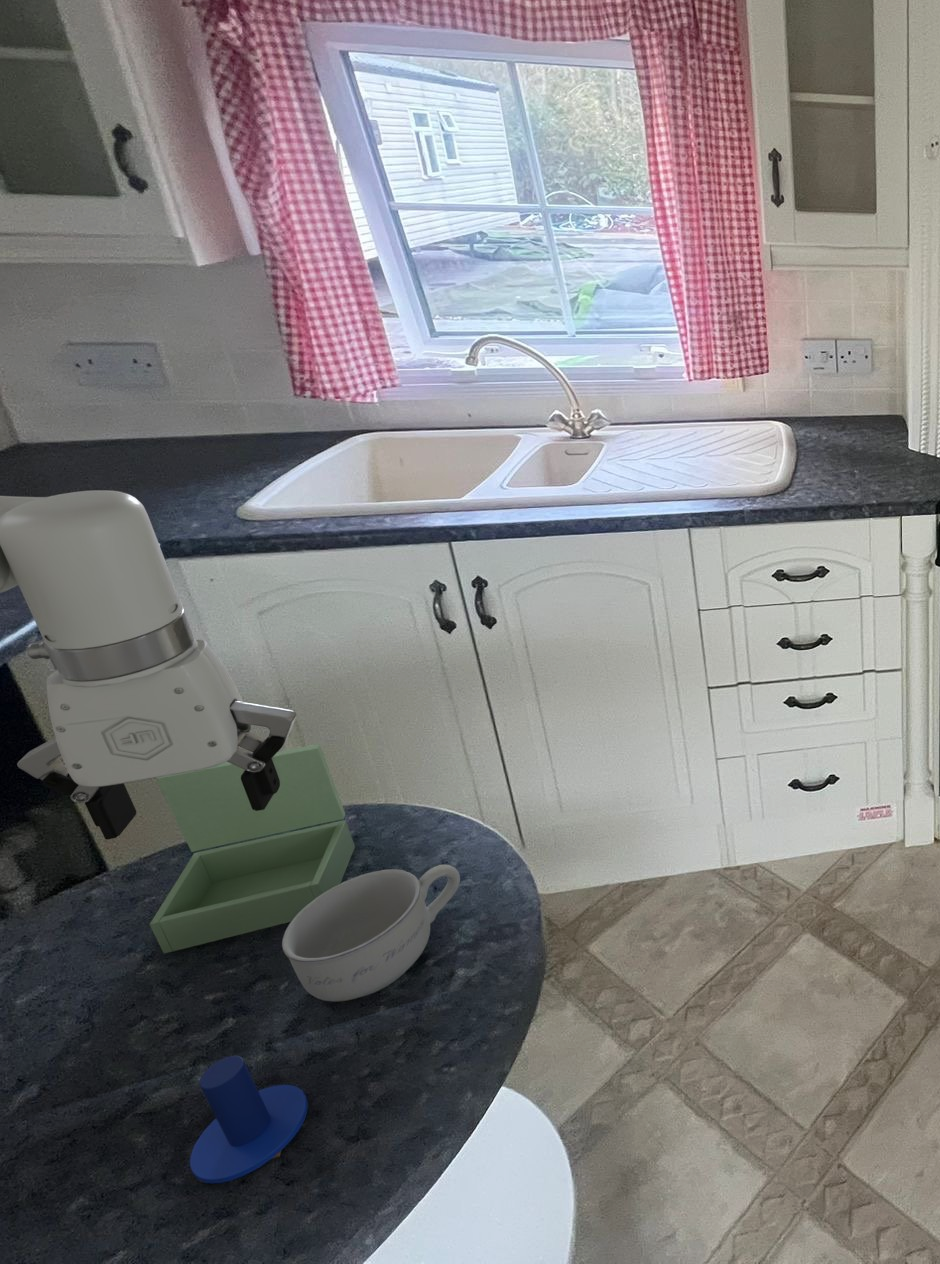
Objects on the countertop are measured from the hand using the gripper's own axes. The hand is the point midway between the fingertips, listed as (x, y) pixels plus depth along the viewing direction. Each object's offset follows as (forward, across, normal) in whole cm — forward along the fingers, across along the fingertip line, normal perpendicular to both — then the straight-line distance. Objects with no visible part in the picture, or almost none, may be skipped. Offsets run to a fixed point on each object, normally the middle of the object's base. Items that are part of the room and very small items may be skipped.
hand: (195, 813), depth 71 cm
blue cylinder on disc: (+22, +4, -15) cm, 27 cm away
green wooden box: (+22, -5, +13) cm, 27 cm away
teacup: (+23, +10, 0) cm, 25 cm away
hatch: (+12, -5, +18) cm, 22 cm away
